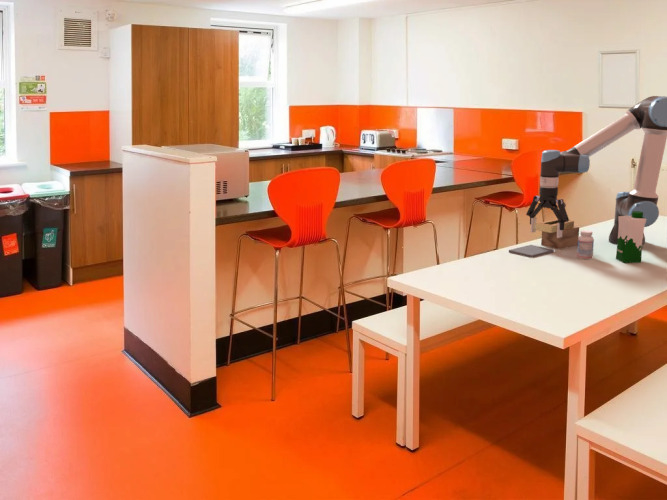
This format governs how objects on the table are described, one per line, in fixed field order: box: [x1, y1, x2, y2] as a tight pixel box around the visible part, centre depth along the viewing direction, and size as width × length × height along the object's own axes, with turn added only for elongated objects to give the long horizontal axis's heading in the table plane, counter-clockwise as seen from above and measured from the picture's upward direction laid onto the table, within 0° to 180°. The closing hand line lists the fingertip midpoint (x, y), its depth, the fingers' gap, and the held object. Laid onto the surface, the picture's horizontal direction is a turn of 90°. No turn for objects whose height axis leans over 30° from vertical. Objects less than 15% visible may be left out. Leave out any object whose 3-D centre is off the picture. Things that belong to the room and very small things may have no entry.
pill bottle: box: [576, 229, 595, 260], centre depth 277 cm, size 6×6×11 cm
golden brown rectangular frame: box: [536, 218, 575, 233], centre depth 295 cm, size 8×16×3 cm, turn 126°
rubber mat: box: [508, 244, 555, 259], centre depth 289 cm, size 12×15×1 cm
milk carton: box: [615, 211, 647, 264], centre depth 270 cm, size 9×9×20 cm
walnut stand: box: [540, 202, 580, 250], centre depth 298 cm, size 10×13×20 cm
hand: (546, 234), depth 293 cm, fingers open, 13 cm apart
